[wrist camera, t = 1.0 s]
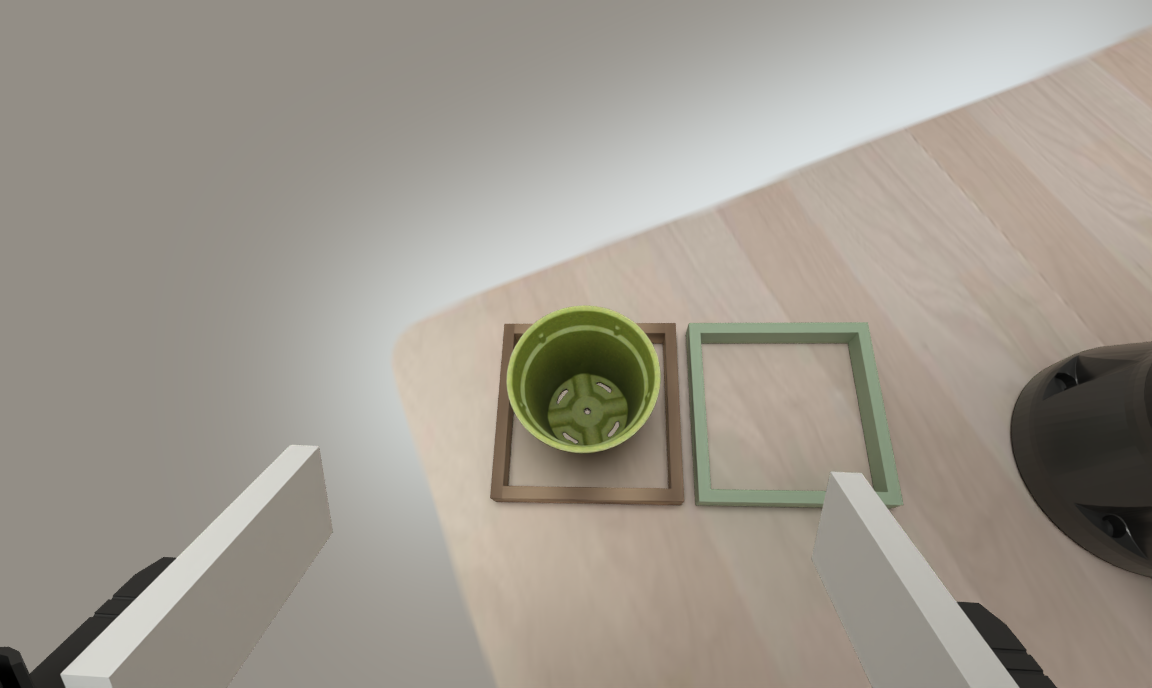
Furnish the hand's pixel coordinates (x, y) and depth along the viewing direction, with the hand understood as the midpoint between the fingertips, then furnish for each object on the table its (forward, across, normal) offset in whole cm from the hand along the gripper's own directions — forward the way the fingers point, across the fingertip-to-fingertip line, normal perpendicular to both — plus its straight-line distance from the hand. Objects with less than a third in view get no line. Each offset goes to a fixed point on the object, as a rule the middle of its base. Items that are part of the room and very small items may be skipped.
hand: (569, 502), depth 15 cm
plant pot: (+25, 0, -11) cm, 28 cm away
